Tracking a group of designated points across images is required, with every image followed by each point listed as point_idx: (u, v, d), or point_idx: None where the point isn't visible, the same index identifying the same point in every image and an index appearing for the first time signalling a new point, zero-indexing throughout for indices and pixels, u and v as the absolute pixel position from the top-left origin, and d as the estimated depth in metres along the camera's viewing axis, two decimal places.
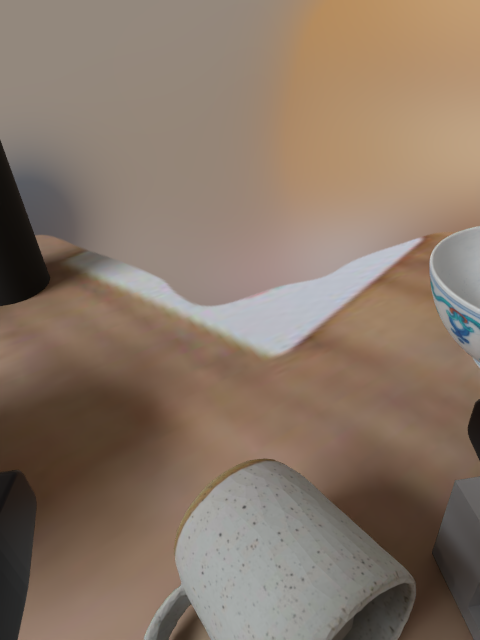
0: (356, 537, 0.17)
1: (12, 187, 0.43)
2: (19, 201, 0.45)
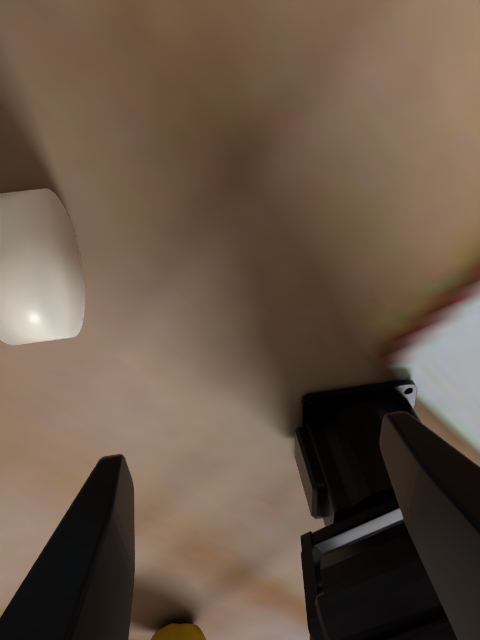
0: None
1: None
2: None
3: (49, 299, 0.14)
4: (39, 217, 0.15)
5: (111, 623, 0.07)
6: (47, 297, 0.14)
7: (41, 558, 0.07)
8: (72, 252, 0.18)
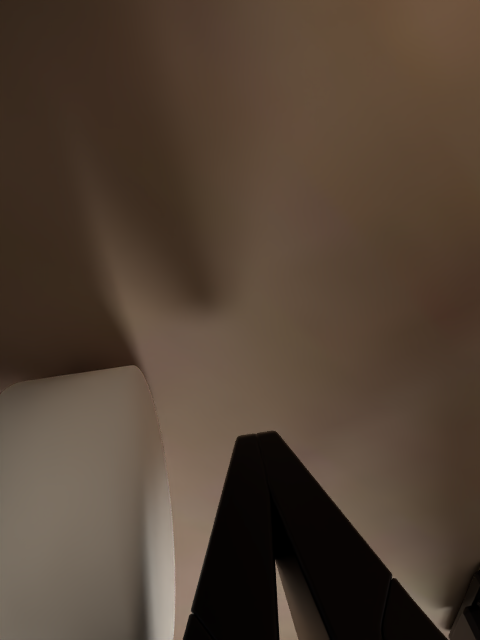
0: None
1: None
2: None
3: None
4: (122, 467, 0.07)
5: None
6: None
7: (217, 528, 0.07)
8: (156, 450, 0.10)
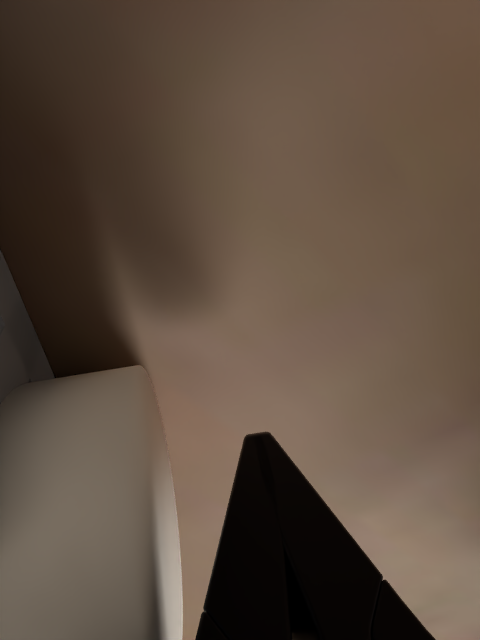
0: None
1: None
2: None
3: None
4: (133, 467, 0.07)
5: None
6: None
7: (227, 527, 0.07)
8: (161, 450, 0.10)
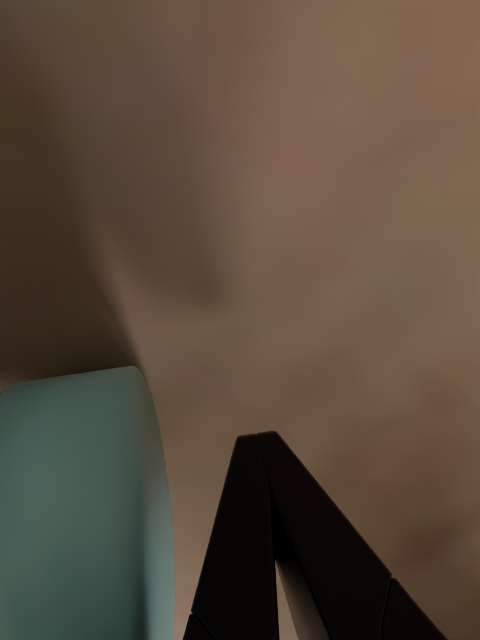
0: None
1: None
2: None
3: None
4: None
5: None
6: None
7: (217, 528, 0.07)
8: None
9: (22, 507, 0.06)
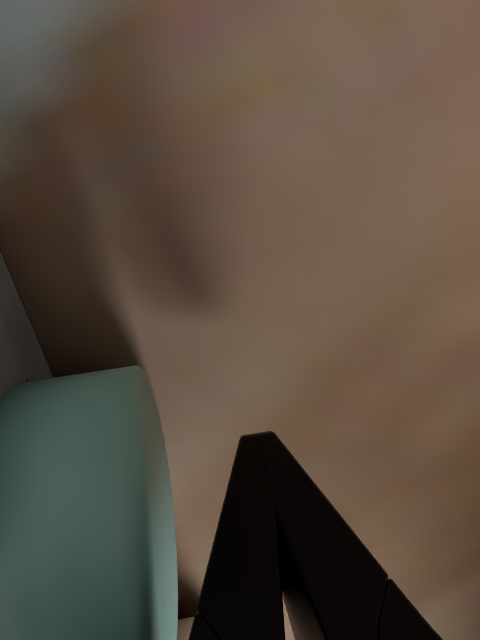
0: None
1: None
2: None
3: None
4: None
5: None
6: None
7: (222, 527, 0.07)
8: None
9: (28, 507, 0.06)
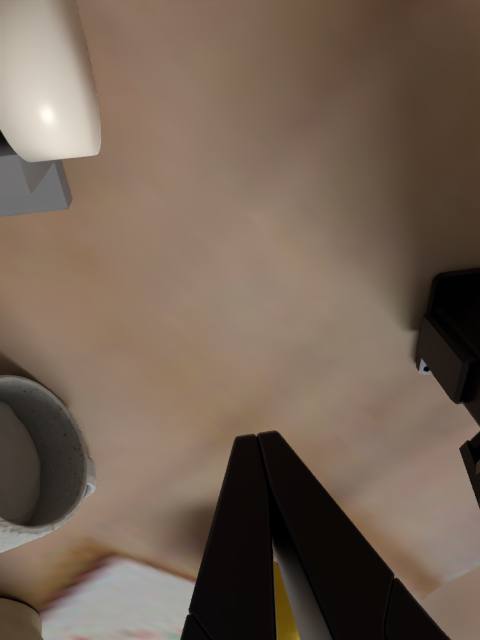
0: None
1: None
2: None
3: (64, 75, 0.12)
4: None
5: None
6: (61, 70, 0.12)
7: (215, 529, 0.07)
8: (87, 69, 0.15)
9: None
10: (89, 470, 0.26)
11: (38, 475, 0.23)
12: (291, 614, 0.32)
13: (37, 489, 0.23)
